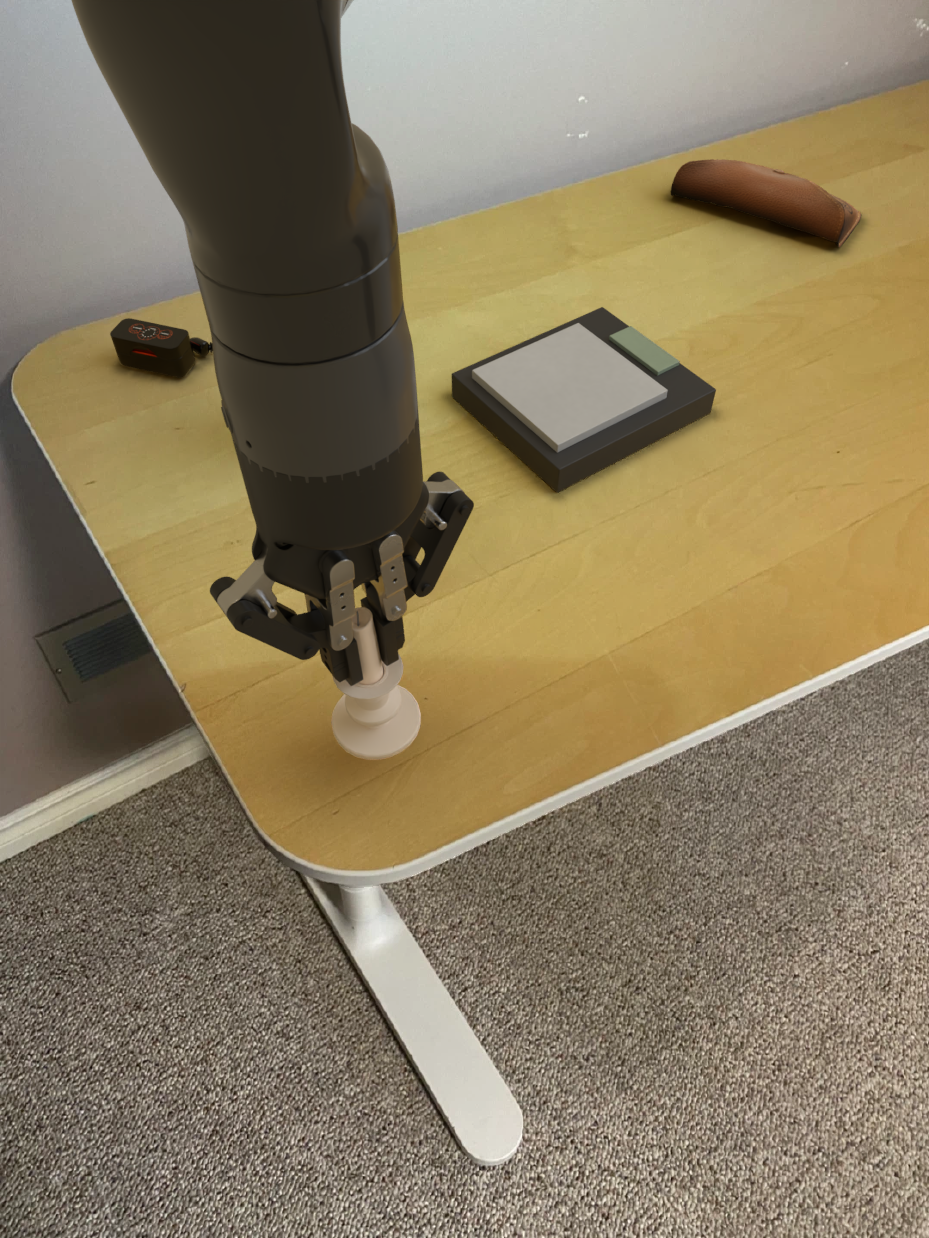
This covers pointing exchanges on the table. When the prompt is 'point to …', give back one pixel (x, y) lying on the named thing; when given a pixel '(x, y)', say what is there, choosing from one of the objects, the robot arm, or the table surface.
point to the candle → (374, 702)
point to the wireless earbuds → (157, 347)
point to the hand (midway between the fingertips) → (366, 661)
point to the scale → (581, 396)
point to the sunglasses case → (767, 196)
